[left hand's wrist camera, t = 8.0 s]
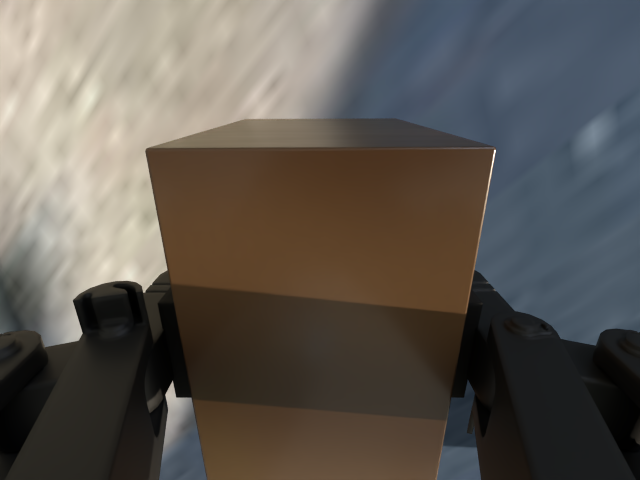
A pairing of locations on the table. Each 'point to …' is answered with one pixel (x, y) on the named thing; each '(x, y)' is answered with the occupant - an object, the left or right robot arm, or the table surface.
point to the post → (321, 290)
